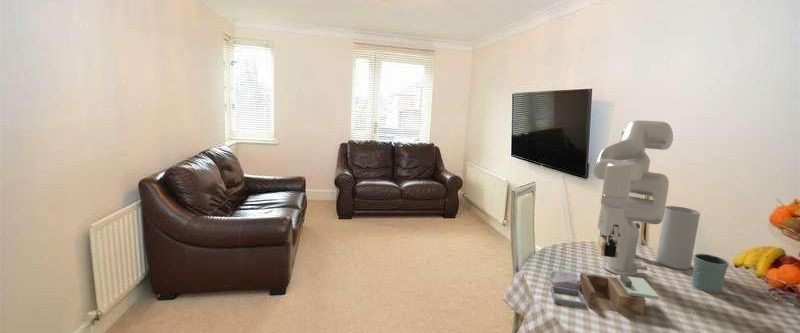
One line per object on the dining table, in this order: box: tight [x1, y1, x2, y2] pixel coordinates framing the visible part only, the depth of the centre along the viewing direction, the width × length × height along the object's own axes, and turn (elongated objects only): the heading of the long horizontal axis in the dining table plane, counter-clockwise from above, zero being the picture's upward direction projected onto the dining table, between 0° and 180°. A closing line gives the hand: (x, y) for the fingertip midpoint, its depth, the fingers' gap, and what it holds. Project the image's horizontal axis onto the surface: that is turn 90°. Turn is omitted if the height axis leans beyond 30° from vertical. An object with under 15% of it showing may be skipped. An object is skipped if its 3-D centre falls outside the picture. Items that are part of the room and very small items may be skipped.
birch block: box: [596, 235, 619, 258], centre depth 125 cm, size 5×5×5 cm
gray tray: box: [549, 285, 586, 309], centre depth 128 cm, size 9×9×2 cm
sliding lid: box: [615, 274, 660, 300], centre depth 126 cm, size 8×14×3 cm, turn 166°
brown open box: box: [579, 272, 647, 317], centre depth 128 cm, size 16×15×6 cm
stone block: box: [549, 270, 581, 292], centre depth 140 cm, size 12×5×10 cm
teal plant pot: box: [691, 253, 730, 294], centre depth 143 cm, size 10×10×12 cm
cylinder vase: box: [655, 205, 701, 270], centre depth 164 cm, size 12×12×25 cm
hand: (606, 252), depth 126 cm, fingers closed on birch block, 4 cm apart
